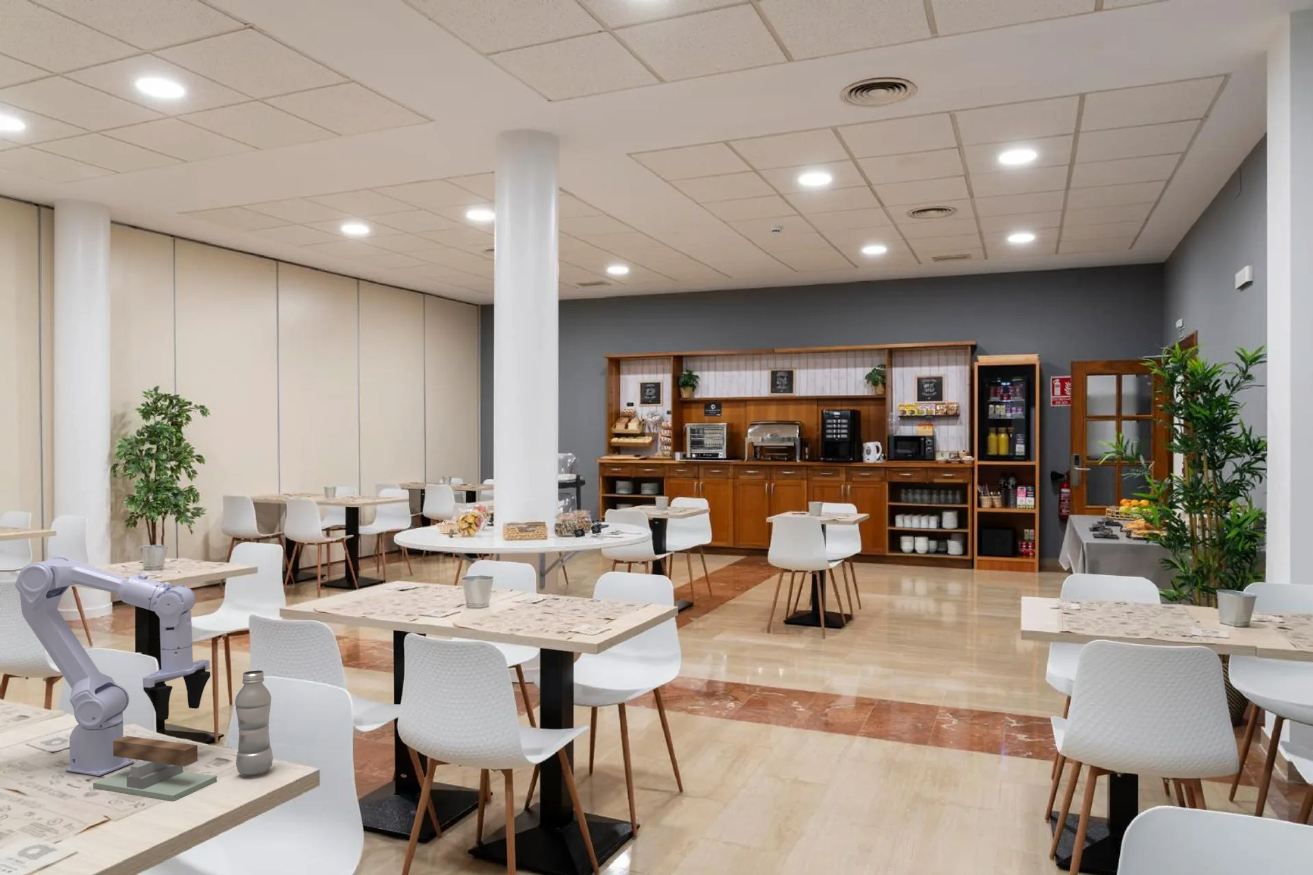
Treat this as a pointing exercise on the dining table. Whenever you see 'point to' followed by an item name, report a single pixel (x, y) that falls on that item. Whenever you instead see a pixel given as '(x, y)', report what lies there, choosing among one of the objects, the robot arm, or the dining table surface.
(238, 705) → the plastic bottle
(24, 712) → the dining table surface
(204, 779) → the balance stand
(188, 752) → the walnut beam
